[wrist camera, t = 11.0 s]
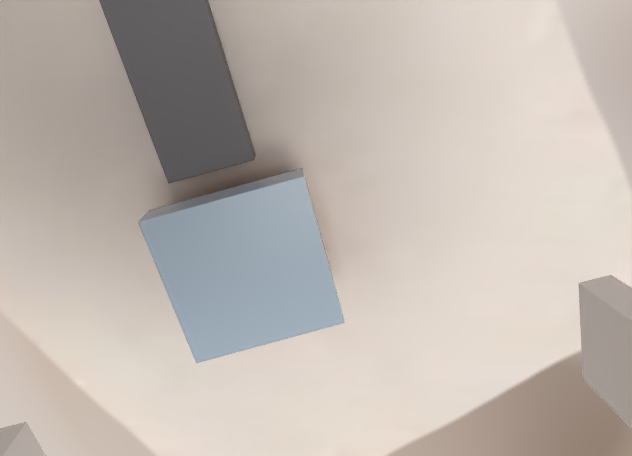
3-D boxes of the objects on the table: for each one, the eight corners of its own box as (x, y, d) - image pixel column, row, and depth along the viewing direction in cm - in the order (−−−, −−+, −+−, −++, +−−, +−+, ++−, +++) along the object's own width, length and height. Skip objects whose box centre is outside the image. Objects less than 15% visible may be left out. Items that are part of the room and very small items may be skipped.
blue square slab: (149, 210, 29) (138, 222, 27) (302, 168, 29) (304, 176, 27) (202, 342, 33) (196, 363, 30) (340, 304, 32) (344, 322, 30)
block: (108, -2, 29) (96, -8, 28) (199, -28, 29) (193, -35, 27) (174, 177, 33) (168, 183, 31) (255, 154, 33) (253, 159, 31)
